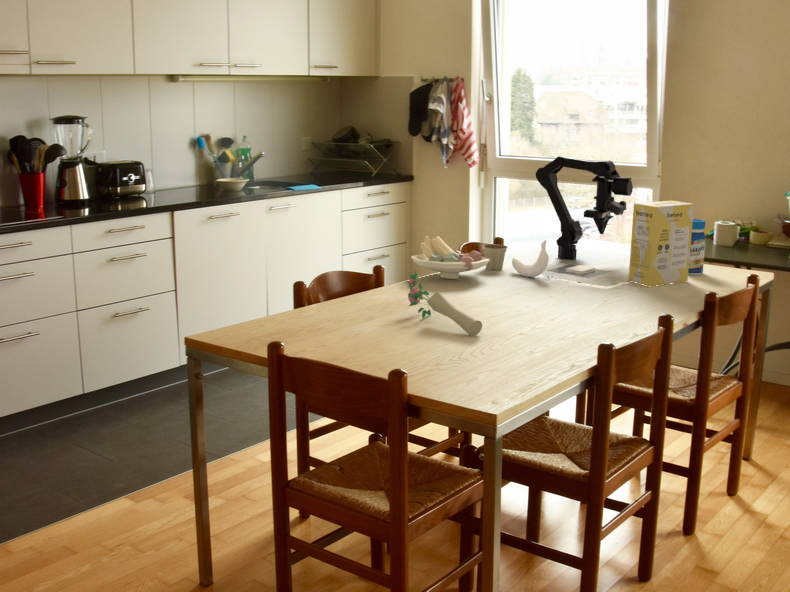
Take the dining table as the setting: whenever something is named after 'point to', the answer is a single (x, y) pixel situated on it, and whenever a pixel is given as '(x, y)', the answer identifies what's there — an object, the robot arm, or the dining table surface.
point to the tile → (580, 269)
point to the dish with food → (447, 259)
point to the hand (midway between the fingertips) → (601, 234)
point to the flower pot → (495, 256)
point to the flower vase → (442, 307)
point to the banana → (534, 268)
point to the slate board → (587, 275)
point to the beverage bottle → (697, 248)
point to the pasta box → (661, 242)
